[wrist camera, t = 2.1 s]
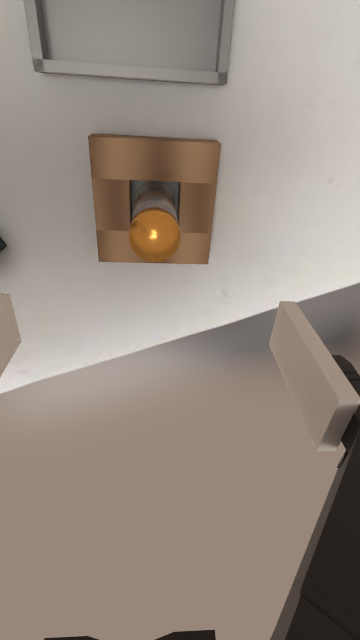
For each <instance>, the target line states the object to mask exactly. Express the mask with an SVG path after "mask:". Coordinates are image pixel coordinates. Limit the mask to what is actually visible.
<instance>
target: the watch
mask: <svg viewBox="0 0 360 640" xmlns="http://www.w3.org/2000/svg"><path fill="white" fill-rule="evenodd" d="M6 246H7V245H6V244H5V242H4V241H3V240H2V238H1V237H0V252H1V251H2V250H3V249H4V248H5V247H6Z"/></svg>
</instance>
